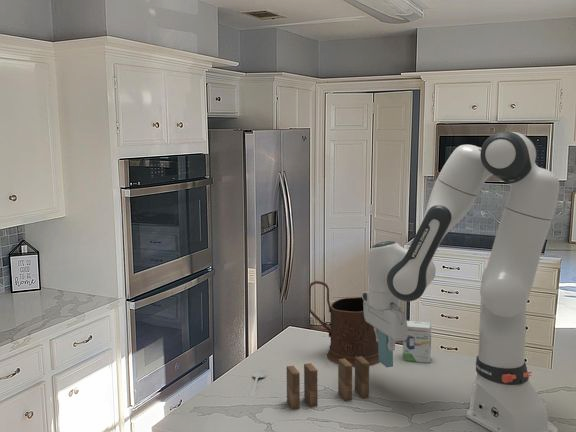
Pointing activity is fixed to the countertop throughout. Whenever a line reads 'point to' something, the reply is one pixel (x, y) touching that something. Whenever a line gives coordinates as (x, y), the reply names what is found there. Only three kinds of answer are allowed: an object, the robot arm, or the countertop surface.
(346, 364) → the domino
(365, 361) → the domino
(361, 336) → the brown pitcher
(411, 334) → the ink box
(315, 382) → the domino
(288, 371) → the domino
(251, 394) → the spoon
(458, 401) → the countertop surface
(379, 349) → the domino
